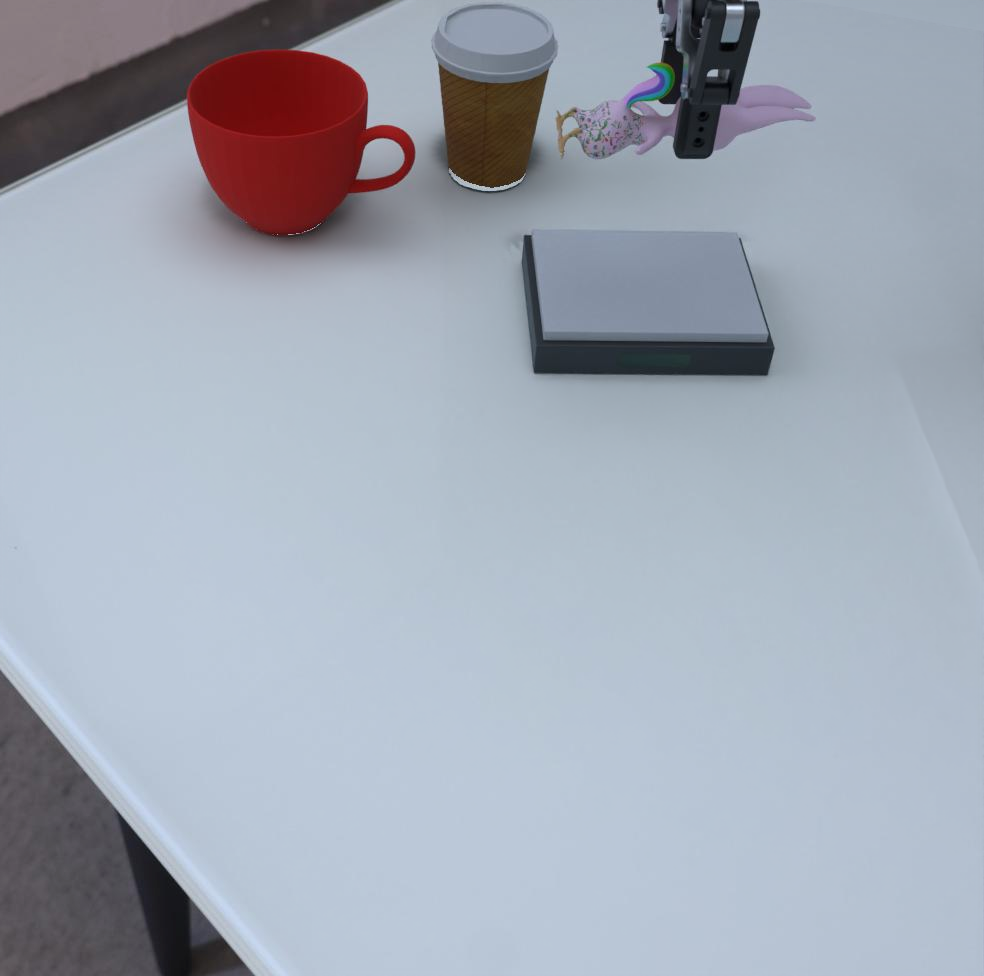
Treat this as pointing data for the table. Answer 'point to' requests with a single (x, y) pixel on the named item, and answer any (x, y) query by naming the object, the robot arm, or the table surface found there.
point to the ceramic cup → (285, 136)
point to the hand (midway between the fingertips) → (682, 126)
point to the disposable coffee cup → (492, 87)
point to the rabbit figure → (673, 116)
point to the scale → (643, 303)
